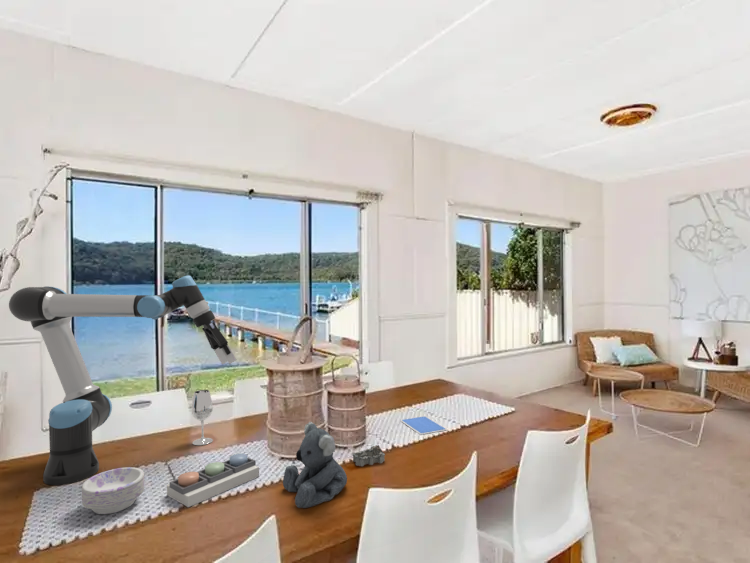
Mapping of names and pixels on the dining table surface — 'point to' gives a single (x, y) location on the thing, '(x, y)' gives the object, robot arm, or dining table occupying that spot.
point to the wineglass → (202, 412)
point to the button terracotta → (188, 478)
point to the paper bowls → (113, 490)
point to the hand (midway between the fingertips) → (229, 362)
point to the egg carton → (369, 456)
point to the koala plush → (315, 470)
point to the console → (213, 483)
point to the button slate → (238, 459)
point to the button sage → (214, 468)
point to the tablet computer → (423, 425)
